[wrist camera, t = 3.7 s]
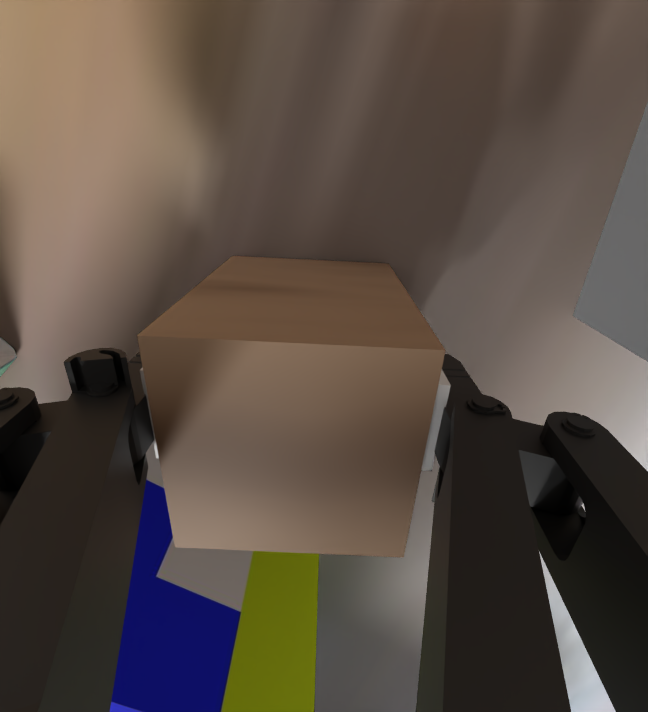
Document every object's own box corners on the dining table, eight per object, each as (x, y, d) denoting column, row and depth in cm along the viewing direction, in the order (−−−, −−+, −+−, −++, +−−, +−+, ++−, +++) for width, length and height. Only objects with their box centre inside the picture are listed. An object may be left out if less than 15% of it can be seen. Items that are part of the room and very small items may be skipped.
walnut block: (372, 396, 17) (403, 557, 10) (240, 390, 17) (174, 547, 10) (388, 263, 15) (445, 350, 7) (232, 255, 15) (137, 335, 7)
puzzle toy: (149, 415, 18) (-29, 657, 9) (320, 505, 21) (312, 766, 12) (77, 532, 22) (-100, 786, 13) (229, 596, 24) (170, 848, 15)
